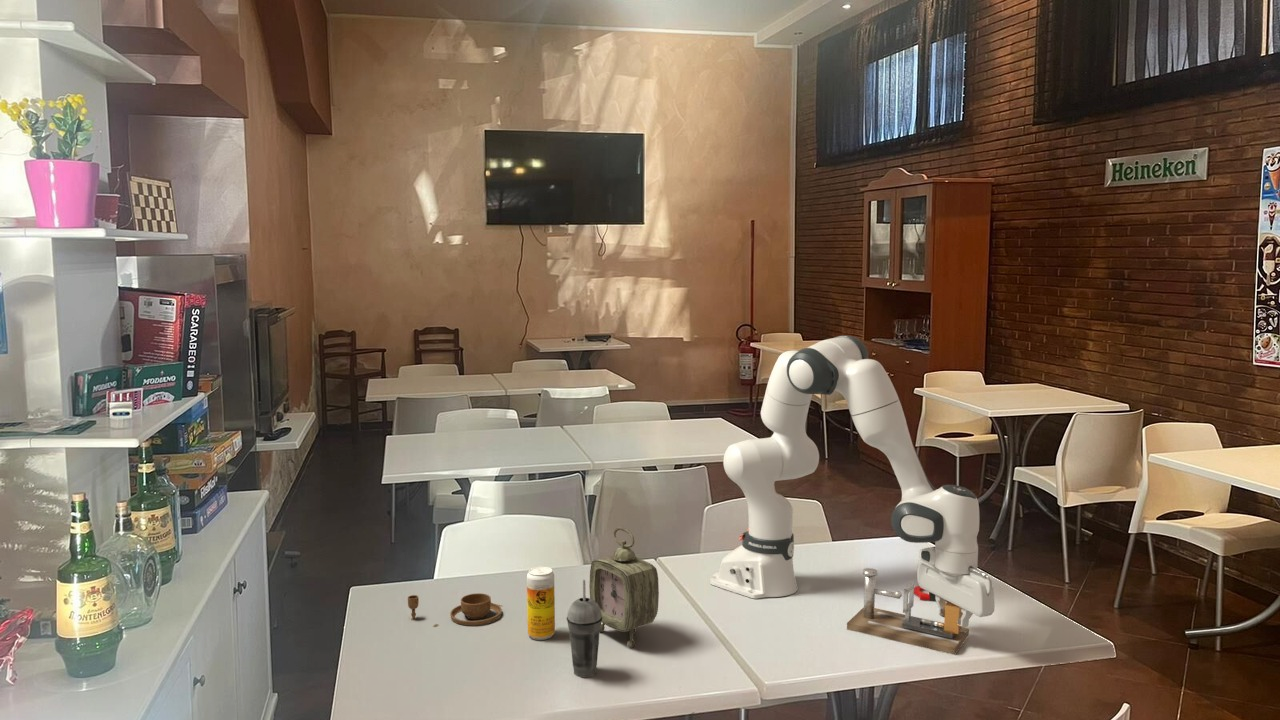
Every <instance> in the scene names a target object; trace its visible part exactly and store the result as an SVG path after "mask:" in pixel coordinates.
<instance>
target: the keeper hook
mask: <svg viewBox="0 0 1280 720" xmlns="http://www.w3.org/2000/svg"><path fill="white" fill-rule="evenodd" d="M862 575H864V582H863V583H864V586H863V587H864V591H863V593H864V594H863V607H864V616H863V617H864V618H866V619H873V618H874V608H876V607H875V602H876V601H875V599H876V595H879V596H884V597H888V598H889V597H890V598H894V599H896V600H897V599H898V600H900V599H901V597H902V596H903V595H902V592H901V591H899V590H896V591H895V592H893V591H889V590H884V589H880V588H876V576H878V570H877V569H875V568H871V567H869V568H868V567H867V568H864V569H863V570H862Z"/></svg>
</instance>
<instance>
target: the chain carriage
mask: <svg viewBox="0 0 1280 720" xmlns="http://www.w3.org/2000/svg"><path fill="white" fill-rule="evenodd" d="M914 588H915V583H913V582H911V583H909V584H908V585H906V587H905V588H904V589H903V595H902V596H903V597H902V600H903V601H902V614H903V613H904V615H905V621H904V622H903V623H902V627H903V628H907V629H911V630H916V631H920V632H925V633H929V634H933V635H938V636H942V637H946V638H951V639H953V637H954V636H955V635H956V634H959V632H960V631H961V630H962V627H961V626H959V625H958V618H959V617H962V615H963V613H962V612H961V611H962V608H961V607H959V606H957V605H955V604H953V603H951V602H949V601H946V604H945V618H944V622H941V623H940V621H936V620H932V619H931V620H932V621H931V620H930V619H926V618H923V619H922V617H918V616H913V615H912V608H913V607H914V604H915V603H914V602H915V601H914V600H915V599H914V598H915V594H914ZM917 617H918V618H917Z"/></svg>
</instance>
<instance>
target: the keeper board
mask: <svg viewBox="0 0 1280 720" xmlns="http://www.w3.org/2000/svg"><path fill="white" fill-rule="evenodd" d="M863 616H864V606H863V607H862V608H861V609H860V610H859V611H858V612H857V613H856V614H855V615H854V616H852V617H851V619H849V620H848V621H847V622H846V630H848V631H853V632H858V633H861V634H865V635H870V636H874V637H878V638H883V639H887V640H890V641H896V642H900V643H903V644H908V645H912V646H917V647H920V648H925V649H929V650H932V651H938V652H941V651H942V652H941V653H945V652H946V654H949V653H950V655H956V653H958V651H959V650H960V648H961V647H962V645H963V644H964V643H963V642H965V641H966V640H967V639H968V637H969V636H970V628H968V627H965V628H963V627H962V630H961V631H960V632H959V634H956V635H955V636H954V637H953V639H951V638H946V637H942V636H938V635H933V634H929V633H925V632H920V631H916V630H911V629H907V628H903V627H902V623H903V622H904V621H905V613H904V614H903V613H900V612H893V611H890V610H886V609H881V608H877V607H874V618H873V619H866V618H864V617H863ZM916 617H917V618H919V617H918V616H916ZM921 618H922V617H921ZM922 619H924V618H922ZM931 621H933V620H932V619H931ZM939 622H940V621H939ZM940 623H942V622H940ZM958 649H959V650H958Z"/></svg>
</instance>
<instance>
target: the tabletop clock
mask: <svg viewBox="0 0 1280 720" xmlns="http://www.w3.org/2000/svg"><path fill="white" fill-rule="evenodd" d="M618 531H621V532H622V531H623V532H625V533H626V534H628V535H629V536H630V538H631V540H632V541H631V544H627V540H625V539H623V540H621V541H620V540H619V538H617V532H618ZM613 539H614V541H615V542H616V543H617V544H618V545H619V546H621V547H617V549H616V550H614V552H613V553H612V555H610V556H609V555H608V556H607V557H603V558H598V559H595V560H592V562H591V565H590V569H589V570H590V571H589V598H590V599H592V600H594V601H595V602H596V603H597V604H598V605H599V607H600V610H601V614H602V621H601V627H600V632H599V633H602V632H604V631H605V629H606V628H605V626H607V627H608V628H611V629H613V630H616V631H618V632H623V633H624V632H628V633H629V640H628V641H627V647H629V648H633V647H634V646H635V644H636V643H635V641H634V639H633V637H634V634H635V633H636V629H637V628H639V627H643V626H646V625H649V624H652V623H653V622H654V620H655V619H656V617H657V615H658V612H659V602H660V600H659V598H660V589H659V575H658V570H657V567H656V566H655V565H653V564H652V563H650V562H648V561H646V560H644V559H642V558H639V557H637V556H636V554H635V552H634V550H633V549H632V547H633V546H634V545H635V537H634V535H633V534H632V532H631V531H630V530H629V529H627V528H626V527H622V526H619V527H616V528H615V529H614V531H613Z"/></svg>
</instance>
